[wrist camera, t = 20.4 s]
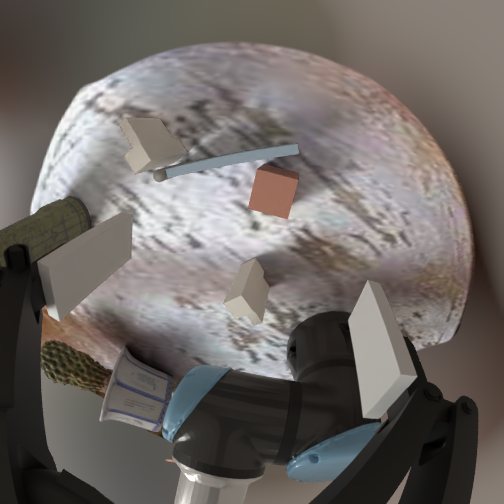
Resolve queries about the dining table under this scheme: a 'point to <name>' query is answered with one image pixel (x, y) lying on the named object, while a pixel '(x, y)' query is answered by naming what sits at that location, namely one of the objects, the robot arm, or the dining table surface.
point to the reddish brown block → (273, 191)
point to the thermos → (47, 228)
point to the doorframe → (169, 151)
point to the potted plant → (113, 384)
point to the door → (225, 160)
